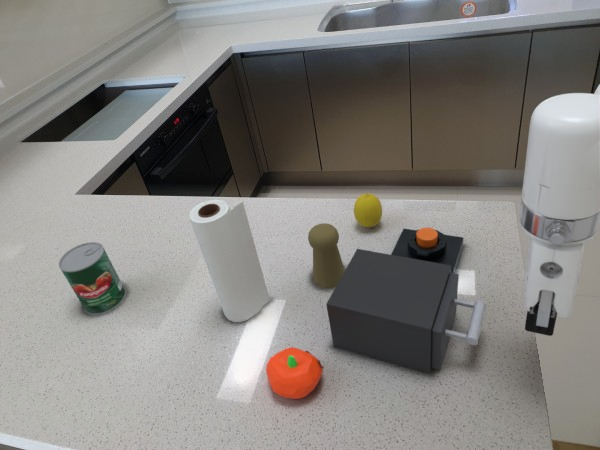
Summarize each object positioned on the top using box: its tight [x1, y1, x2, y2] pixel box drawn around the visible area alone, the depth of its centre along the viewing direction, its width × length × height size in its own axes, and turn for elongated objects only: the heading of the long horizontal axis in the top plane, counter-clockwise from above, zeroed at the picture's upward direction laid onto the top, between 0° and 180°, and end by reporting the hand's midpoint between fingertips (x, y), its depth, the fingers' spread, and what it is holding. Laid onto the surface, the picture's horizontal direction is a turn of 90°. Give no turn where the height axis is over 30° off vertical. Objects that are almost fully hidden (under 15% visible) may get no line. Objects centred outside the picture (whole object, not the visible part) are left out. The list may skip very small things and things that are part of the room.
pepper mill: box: [307, 223, 346, 289], centre depth 80 cm, size 6×6×11 cm
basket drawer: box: [431, 273, 487, 371], centre depth 67 cm, size 18×11×8 cm, turn 64°
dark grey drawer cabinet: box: [326, 248, 451, 375], centre depth 69 cm, size 15×13×10 cm
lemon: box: [353, 192, 383, 228], centre depth 91 cm, size 6×6×8 cm
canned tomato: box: [58, 241, 127, 316], centre depth 84 cm, size 8×8×11 cm
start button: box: [416, 227, 438, 248], centre depth 81 cm, size 4×4×2 cm
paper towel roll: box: [188, 199, 271, 323], centre depth 73 cm, size 7×6×21 cm
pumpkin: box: [265, 346, 324, 400], centre depth 64 cm, size 7×8×6 cm
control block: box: [390, 228, 464, 274], centre depth 82 cm, size 11×9×4 cm
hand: (538, 328), depth 59 cm, fingers closed
